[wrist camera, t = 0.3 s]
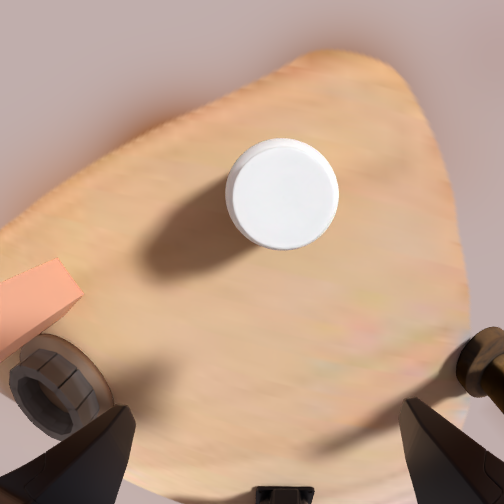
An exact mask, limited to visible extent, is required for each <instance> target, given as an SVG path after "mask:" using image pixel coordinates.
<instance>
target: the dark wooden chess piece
mask: <svg viewBox="0 0 504 504" xmlns="http://www.w3.org/2000/svg"><path fill="white" fill-rule="evenodd" d="M456 375H457V378H458V381H459V382H460V384H461V385H462V386H463V387H464V389H465V390H466V391H467V392H468V393H469V394H470V395H471V396H473V397H477V398H478V397H479V398H480V397H485V396H489V397H490V398H491V400H492V401H493V402H494V403H495V404H496V406H497V407H498V408H499V409H500V410H501V412H502V413H503V414H504V330H502V329H500V328H498V327H489V328H486V329H484V330H482V331H480V332H479V333H477V334H476V335H475V336H474V337H473V338H472V339H471V340H470V341H469V342H468V344H467V345H466V346H465V348H464V350H463V351H462V353H461V355H460V357H459V360H458V363H457V368H456Z"/></svg>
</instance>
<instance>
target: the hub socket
mask: <svg viewBox="0 0 504 504" xmlns="http://www.w3.org/2000/svg"><path fill="white" fill-rule="evenodd" d="M9 385H10V388H11V391H12V393H13V396H14V398H15V400H16V403H17V404H19V405H18V406H19V407H20V409H21V410H22V411H23V412H24V414H25V415H26V416H27V417H28V419H29V420H30V421H31V422H33V424H34V425H35V426H37V427H38V428H39V429H40V430H42V431H43V432H44V433H45V434H47V435H48V436H50V437H52V438H54V439H57V440H59V441H63V440H65V439H66V438H68V437H69V436H71V435H72V434H74V433H75V432H77V431H78V430H79V429H81V428H82V427H84V426H85V425H87V424H88V423H90V422H91V421H93V420H94V419H96V418H97V417H98V416H100V415H101V414H103V413H104V412H106V411H107V410H108V409H110V408H111V407H113V406H114V403H113V397H112V394H111V391H110V388H109V386H108V384H107V382H106V380H105V379H104V377H103V375H102V374H101V373H100V371H99V370H98V368H97V367H96V366H95V365H94V363H93V362H92V361H91V360H90V359H89V358H88V357H87V356H86V355H85V354H84V353H83V352H82V351H80V350H79V349H78V348H77V347H75V346H74V345H73V344H71V343H70V342H68V341H66V340H64V339H62V338H60V337H58V336H55V335H51V334H39V335H37V336H36V337H34V338H33V339H31V340H30V341H29V342H27V343H26V344H25V345H23V347H22V349H21V353H20V363H19V364H17V365H16V366H15V367H14V368H12V369H11V370H10V378H9Z"/></svg>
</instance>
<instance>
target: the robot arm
mask: <svg viewBox="0 0 504 504" xmlns="http://www.w3.org/2000/svg"><path fill="white" fill-rule="evenodd" d="M399 425H400V430H401V436H402V441H403V447H404V453H405V459H406V463H407V466H408V470H409V473H410V477H411V480H412V484H413V487H414V491H415V495H416V498H417V502H418V504H504V462H503V461H502V460H500V459H499V458H497V457H496V456H494V455H493V454H491V453H490V452H489V451H486V449H485V448H483V447H482V446H481V445H479V444H478V443H477V442H475V441H474V440H473V439H471V438H470V437H469V436H468V435H466V434H465V433H464V432H462V431H461V430H460V429H458V428H457V427H456V426H454V425H453V424H452V423H450V422H449V421H448V420H446V419H445V418H444V417H442V416H441V415H440V414H438V413H437V412H436V411H435V410H433V409H432V408H431V407H429V406H428V405H427V404H425V403H424V402H423V401H421V400H420V399H419V398H417V397H410V398H406V399H404V401H403V403H402V407H401V410H400V414H399ZM135 427H136V423H135V420H134V417H133V415H132V413H131V411H130V409H129V407H128V406H127V405H121V404H116V405H114V406H113V407H111V408H110V409H108V410H107V411H106V412H104V413H103V414H101V415H100V416H98V417H97V418H96V419H94V420H93V421H91V422H90V423H88V424H87V425H85V426H84V427H82V428H81V429H79V430H78V431H77V432H75V433H74V434H72V435H71V436H69V437H68V438H66V439H65V440H63V441H62V442H60V443H59V444H57V445H56V446H54V447H53V448H51V449H49V450H48V451H46V453H43V454H42V455H40V456H39V457H37V458H35V459H34V460H32V461H30V462H29V463H27V464H25V465H23V466H21V467H20V468H18V469H16V470H13V471H11V472H9V473H8V474H5V475H3V476H1V477H0V504H114V503H115V500H116V497H117V494H118V491H119V487H120V484H121V482H122V479H123V476H124V473H125V470H126V467H127V463H128V460H129V455H130V451H131V446H132V441H133V437H134V432H135ZM314 492H315V491H314V488H313V487H302V488H279V487H258V488H257V489H256V504H311V503H312V499H313V496H314Z"/></svg>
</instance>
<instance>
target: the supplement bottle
mask: <svg viewBox="0 0 504 504" xmlns="http://www.w3.org/2000/svg"><path fill="white" fill-rule="evenodd" d="M225 199H226V205H227V209H228V212H229V215H230V217H231V219H232V221H233V223H234V224H235V226H236V227H237V229H238V230H239V231H240V232H241V233H242V234H243V235H244V236H245V237H246V238H247V239H249V240H250V241H252V242H253V243H255V244H257V245H259V246H262V247H264V248H268V249H272V250H293V249H297V248H301V247H303V246H306V245H308V244H310V243H312V242H313V241H315V240H316V239H317V238H319V237H320V236H321V235H322V234H323V233H324V232H325V231H326V230H327V228H328V227H329V225H330V224H331V222H332V220H333V218H334V216H335V213H336V210H337V206H338V199H339V191H338V183H337V180H336V176H335V174H334V172H333V169H332V168H331V166H330V164H329V163H328V161H327V160H326V159H325V158H324V157H323V155H322V154H321V153H319V152H318V151H317V150H316V149H314V148H313V147H311V146H309V145H307V144H305V143H303V142H300V141H297V140H293V139H286V138H276V139H270V140H266V141H263V142H260V143H258V144H256V145H254V146H252V147H250V148H249V149H248V150H246V151H245V152H244V153H243V154H242V155H241V156H240V157H239V158H238V159H237V160H236V162H235V163H234V165H233V167H232V168H231V170H230V173H229V175H228V178H227V182H226V189H225Z"/></svg>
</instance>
